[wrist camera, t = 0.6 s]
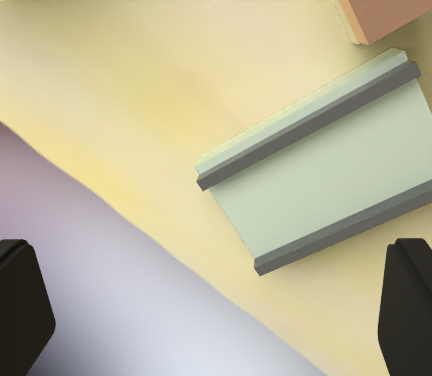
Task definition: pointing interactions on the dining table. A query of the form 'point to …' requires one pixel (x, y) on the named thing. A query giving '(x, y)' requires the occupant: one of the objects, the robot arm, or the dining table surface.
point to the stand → (327, 163)
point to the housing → (377, 17)
